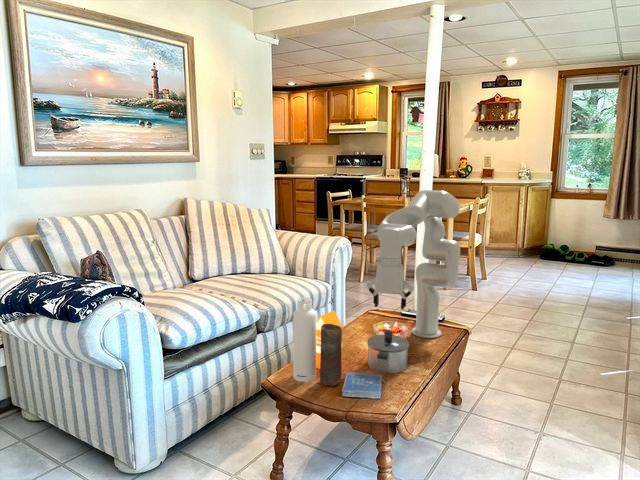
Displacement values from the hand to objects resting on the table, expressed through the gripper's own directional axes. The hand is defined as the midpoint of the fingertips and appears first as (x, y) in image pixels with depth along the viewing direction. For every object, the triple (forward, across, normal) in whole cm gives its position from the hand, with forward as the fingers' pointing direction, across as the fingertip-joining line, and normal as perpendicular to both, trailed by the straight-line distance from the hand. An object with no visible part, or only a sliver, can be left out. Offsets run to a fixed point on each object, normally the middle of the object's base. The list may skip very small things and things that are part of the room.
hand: (389, 307), depth 173 cm
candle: (+22, -15, -22) cm, 34 cm away
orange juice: (+22, -21, -9) cm, 32 cm away
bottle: (+22, -25, -21) cm, 39 cm away
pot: (+22, 0, -1) cm, 22 cm away
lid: (+14, 0, -1) cm, 14 cm away
